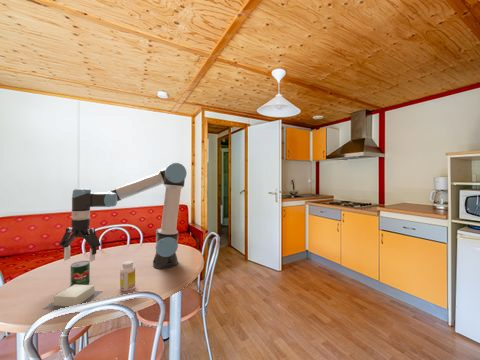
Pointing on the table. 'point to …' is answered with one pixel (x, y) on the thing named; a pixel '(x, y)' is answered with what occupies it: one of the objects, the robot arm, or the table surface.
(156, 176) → the robot arm
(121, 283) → the supplement bottle
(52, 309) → the grey flat square
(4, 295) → the table surface
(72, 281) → the canned tomato
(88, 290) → the cream base block
